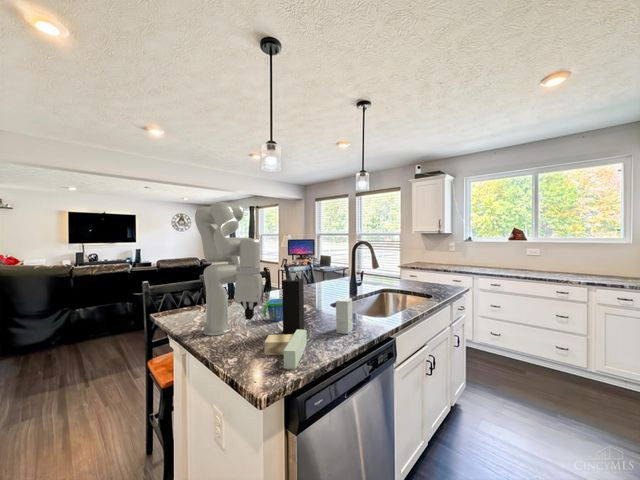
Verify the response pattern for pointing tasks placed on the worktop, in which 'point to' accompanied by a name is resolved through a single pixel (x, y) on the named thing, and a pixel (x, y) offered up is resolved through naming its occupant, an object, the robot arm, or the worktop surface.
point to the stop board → (295, 349)
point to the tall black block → (293, 304)
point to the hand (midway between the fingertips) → (249, 318)
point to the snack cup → (274, 309)
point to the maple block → (276, 344)
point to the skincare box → (344, 315)
